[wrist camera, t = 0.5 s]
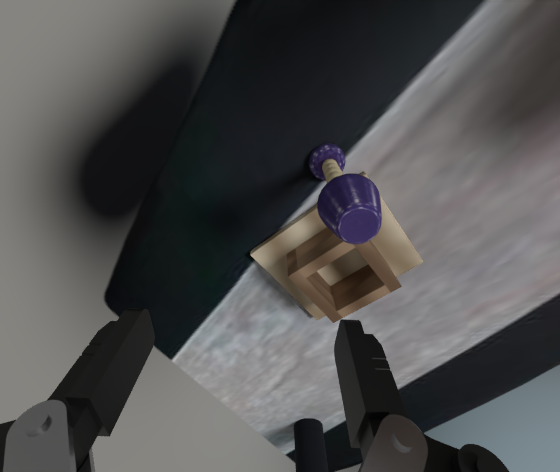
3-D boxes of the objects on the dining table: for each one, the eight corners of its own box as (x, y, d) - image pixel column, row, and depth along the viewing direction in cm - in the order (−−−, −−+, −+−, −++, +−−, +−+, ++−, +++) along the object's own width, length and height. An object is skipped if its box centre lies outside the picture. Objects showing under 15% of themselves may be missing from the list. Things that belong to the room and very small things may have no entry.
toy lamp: (309, 185, 33) (334, 265, 19) (298, 148, 31) (316, 205, 16) (348, 172, 32) (404, 245, 18) (339, 133, 30) (396, 180, 16)
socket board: (363, 171, 32) (379, 188, 27) (420, 257, 39) (442, 285, 33) (250, 250, 38) (246, 277, 33) (316, 315, 44) (321, 347, 39)
